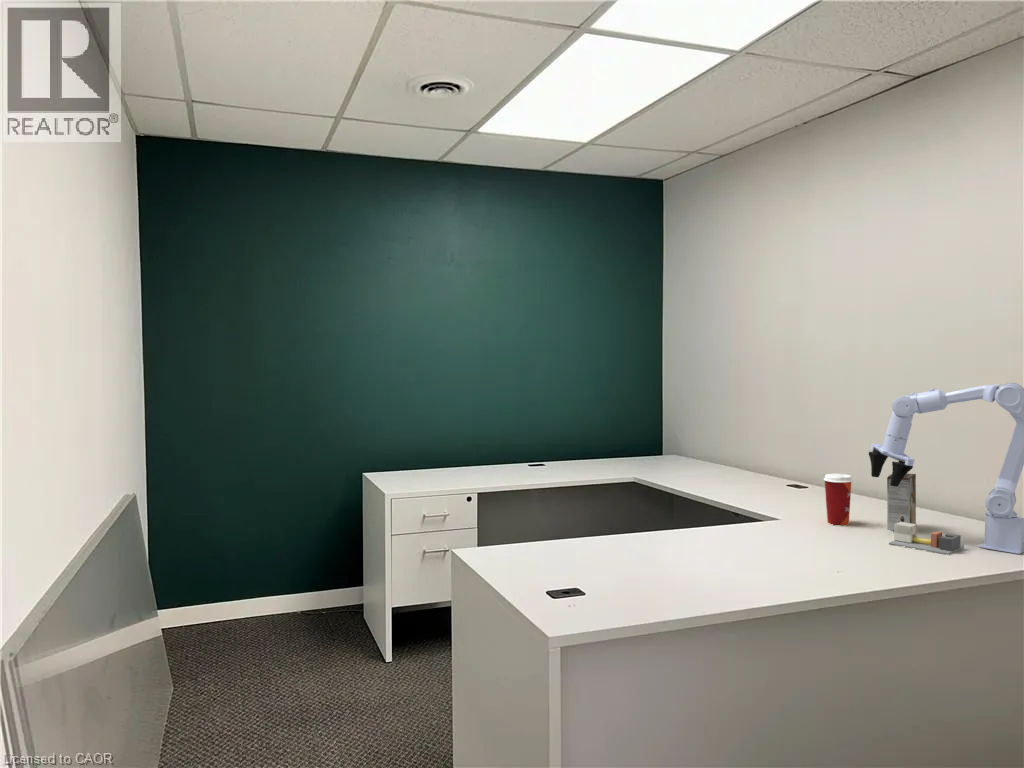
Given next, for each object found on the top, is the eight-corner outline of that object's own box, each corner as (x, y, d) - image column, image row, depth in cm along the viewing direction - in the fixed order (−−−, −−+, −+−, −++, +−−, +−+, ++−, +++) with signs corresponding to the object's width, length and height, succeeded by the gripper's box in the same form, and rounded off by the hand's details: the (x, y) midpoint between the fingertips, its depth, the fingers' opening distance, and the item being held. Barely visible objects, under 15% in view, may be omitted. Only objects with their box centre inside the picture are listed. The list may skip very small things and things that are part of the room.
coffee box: (892, 523, 228) (892, 471, 227) (916, 526, 224) (916, 473, 223) (886, 530, 220) (886, 476, 220) (910, 533, 216) (911, 478, 216)
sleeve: (917, 539, 207) (917, 524, 206) (910, 542, 204) (910, 526, 204) (900, 537, 210) (900, 521, 210) (894, 539, 207) (894, 524, 207)
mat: (963, 546, 201) (963, 545, 201) (948, 554, 194) (948, 553, 194) (905, 537, 212) (905, 535, 212) (888, 544, 205) (888, 542, 205)
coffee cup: (857, 526, 226) (857, 477, 225) (830, 527, 226) (829, 478, 225) (845, 520, 234) (845, 472, 233) (819, 520, 234) (819, 473, 233)
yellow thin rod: (944, 546, 200) (944, 541, 200) (942, 547, 199) (942, 542, 199) (895, 538, 210) (895, 533, 209) (893, 539, 209) (893, 534, 209)
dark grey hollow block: (960, 547, 199) (960, 535, 199) (951, 551, 195) (951, 539, 195) (944, 544, 202) (944, 532, 202) (935, 548, 198) (935, 536, 198)
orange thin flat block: (942, 545, 201) (942, 531, 201) (936, 547, 199) (936, 534, 199) (936, 544, 203) (936, 531, 202) (930, 546, 200) (930, 533, 200)
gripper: (867, 428, 218) (855, 471, 221) (904, 443, 205) (891, 489, 207) (886, 430, 220) (875, 473, 223) (924, 445, 207) (911, 491, 209)
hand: (884, 481), depth 215 cm, fingers open, 7 cm apart
